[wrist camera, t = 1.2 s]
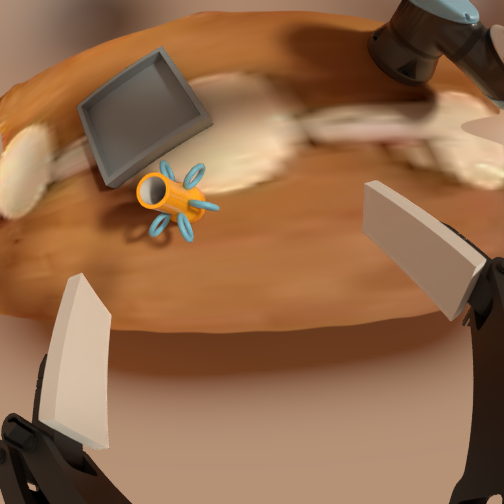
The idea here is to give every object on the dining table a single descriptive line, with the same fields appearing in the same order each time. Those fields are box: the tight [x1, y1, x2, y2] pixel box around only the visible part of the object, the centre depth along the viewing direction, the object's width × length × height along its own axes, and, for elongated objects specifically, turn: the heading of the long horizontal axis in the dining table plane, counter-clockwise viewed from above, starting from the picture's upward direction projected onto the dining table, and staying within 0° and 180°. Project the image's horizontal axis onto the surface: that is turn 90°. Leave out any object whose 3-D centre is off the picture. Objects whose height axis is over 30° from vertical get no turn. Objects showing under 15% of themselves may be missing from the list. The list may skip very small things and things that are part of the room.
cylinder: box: [136, 160, 219, 242], centre depth 35 cm, size 12×10×15 cm
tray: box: [76, 46, 213, 189], centre depth 40 cm, size 20×20×4 cm
